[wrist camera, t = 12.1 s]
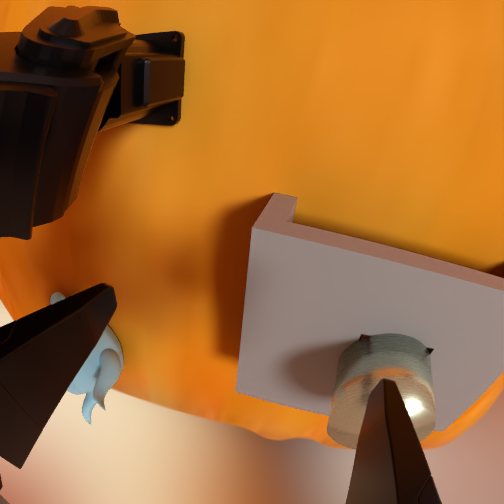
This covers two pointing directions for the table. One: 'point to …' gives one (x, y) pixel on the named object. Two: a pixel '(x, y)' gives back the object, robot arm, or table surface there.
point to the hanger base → (360, 314)
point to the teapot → (97, 369)
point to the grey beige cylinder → (368, 376)
